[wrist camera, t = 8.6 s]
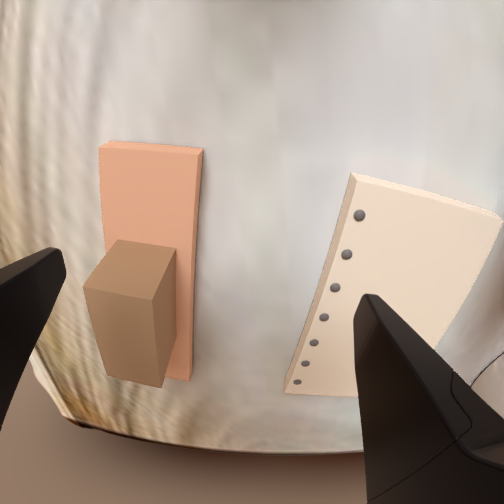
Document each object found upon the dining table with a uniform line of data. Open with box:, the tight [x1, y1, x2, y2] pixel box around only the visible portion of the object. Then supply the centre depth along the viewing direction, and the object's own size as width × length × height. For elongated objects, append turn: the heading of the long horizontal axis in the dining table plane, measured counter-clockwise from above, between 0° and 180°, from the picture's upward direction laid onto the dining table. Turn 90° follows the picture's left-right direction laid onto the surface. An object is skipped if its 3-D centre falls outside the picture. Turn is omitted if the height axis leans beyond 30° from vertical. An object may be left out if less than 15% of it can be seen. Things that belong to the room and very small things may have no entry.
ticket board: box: [285, 173, 504, 396], centre depth 23 cm, size 12×20×2 cm, turn 172°
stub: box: [83, 141, 203, 388], centre depth 20 cm, size 6×20×6 cm, turn 172°
